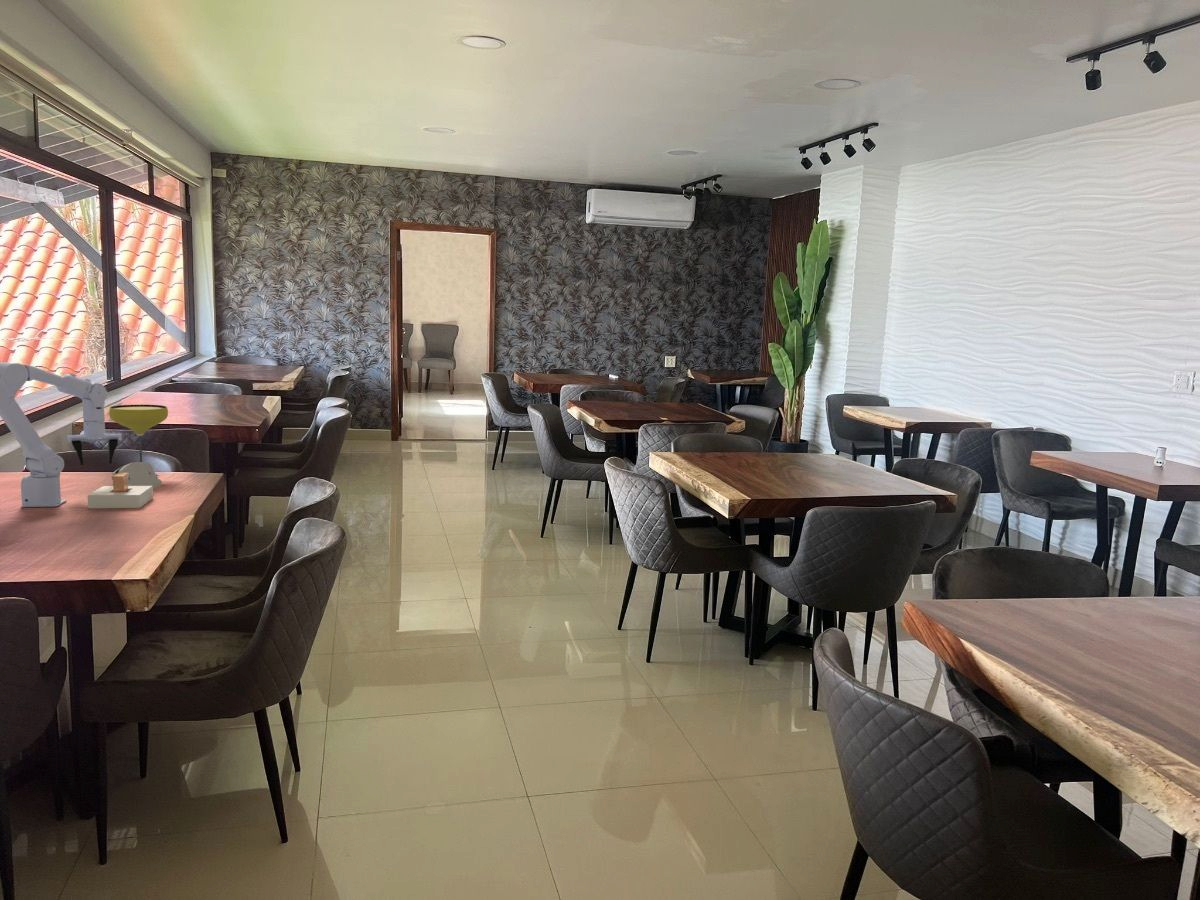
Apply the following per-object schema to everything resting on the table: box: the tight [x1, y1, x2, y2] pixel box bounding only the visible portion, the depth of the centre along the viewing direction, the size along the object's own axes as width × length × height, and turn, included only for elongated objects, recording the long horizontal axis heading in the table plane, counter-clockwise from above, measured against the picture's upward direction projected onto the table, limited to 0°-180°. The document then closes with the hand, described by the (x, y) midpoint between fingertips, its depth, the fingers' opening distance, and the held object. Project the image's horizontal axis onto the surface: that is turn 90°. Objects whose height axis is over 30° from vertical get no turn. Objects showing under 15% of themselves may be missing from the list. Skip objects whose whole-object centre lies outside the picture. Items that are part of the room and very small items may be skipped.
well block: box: [87, 485, 154, 509], centre depth 257 cm, size 14×14×4 cm
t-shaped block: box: [111, 473, 129, 492], centre depth 256 cm, size 3×6×9 cm, turn 14°
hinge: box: [112, 461, 163, 488], centre depth 278 cm, size 17×5×10 cm, turn 174°
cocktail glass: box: [109, 404, 169, 476], centre depth 296 cm, size 18×18×25 cm
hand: (96, 463), depth 264 cm, fingers open, 7 cm apart
